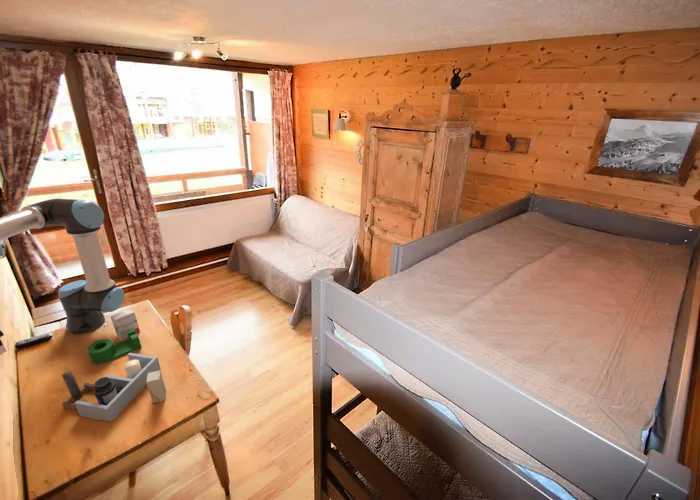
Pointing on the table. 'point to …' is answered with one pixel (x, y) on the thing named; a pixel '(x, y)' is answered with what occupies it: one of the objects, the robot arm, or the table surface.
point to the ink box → (125, 323)
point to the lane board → (126, 394)
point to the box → (156, 386)
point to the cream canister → (132, 368)
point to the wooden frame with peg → (75, 389)
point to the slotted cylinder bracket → (113, 348)
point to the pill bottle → (105, 391)
